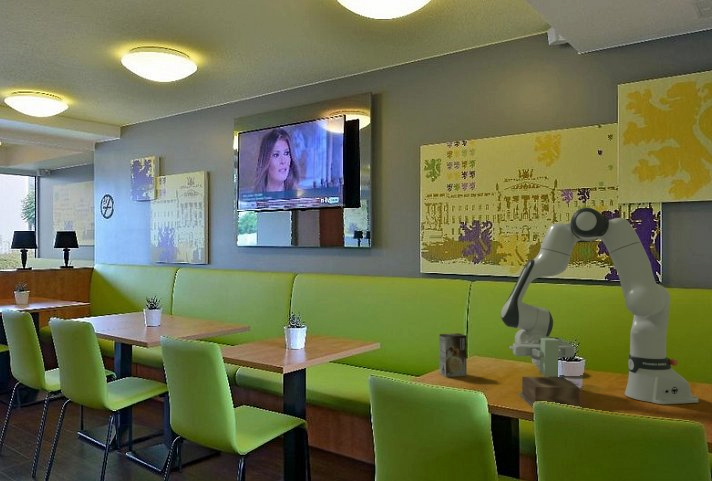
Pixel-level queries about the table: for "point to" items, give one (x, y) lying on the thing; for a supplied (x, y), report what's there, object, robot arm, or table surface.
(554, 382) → the base
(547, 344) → the pillar
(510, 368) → the table surface
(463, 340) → the coffee box
